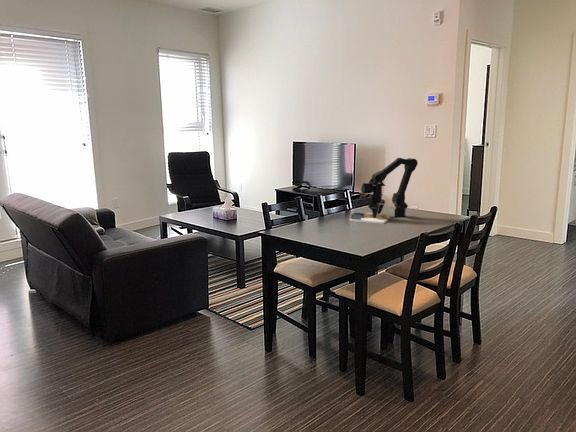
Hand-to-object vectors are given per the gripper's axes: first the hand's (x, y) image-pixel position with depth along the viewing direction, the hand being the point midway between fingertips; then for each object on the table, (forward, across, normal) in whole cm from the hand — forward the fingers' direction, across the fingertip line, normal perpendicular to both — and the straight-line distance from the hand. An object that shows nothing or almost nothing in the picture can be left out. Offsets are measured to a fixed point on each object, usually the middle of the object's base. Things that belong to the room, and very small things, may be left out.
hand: (376, 216), depth 305 cm
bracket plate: (+1, +12, -2) cm, 12 cm away
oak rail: (+1, 0, -1) cm, 2 cm away
